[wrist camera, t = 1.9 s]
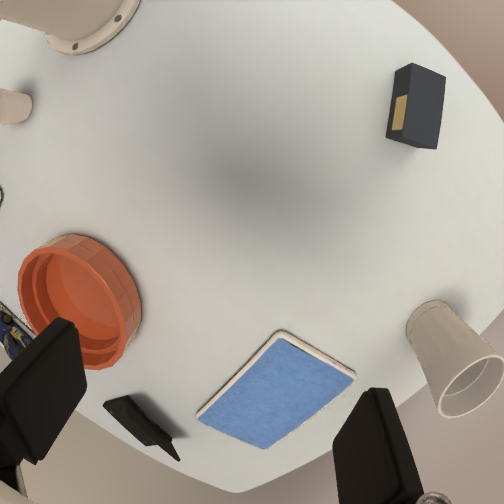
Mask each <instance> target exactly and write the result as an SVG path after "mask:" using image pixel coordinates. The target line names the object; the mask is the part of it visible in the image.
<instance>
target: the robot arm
mask: <svg viewBox="0 0 504 504" xmlns="http://www.w3.org/2000/svg"><path fill="white" fill-rule="evenodd" d="M139 2H140V0H0V19H3V20H7V21H11V22H14V23H17V24H21V25H24V26H27V27H30V28H33V29H36V30H39V31H42V32H45V34H46V38H47V41H48V43H49V44H50V46H51V47H52V48H53V49H55V50H56V51H58V52H60V53H63V54H68V55H79V54H83V53H87V52H90V51H92V50H94V49H96V48H99V47H100V46H102V45H103V44H105V43H106V42H108V41H109V40H110V39H112V38H113V37H114V36H115V35H116V34H117V33H118V32H119V31H120V30H121V29H122V28H123V27H124V26H125V25H126V24H127V22H128V21H129V20H130V19H131V17H132V16H133V14H134V12H135V11H136V9H137V7H138V4H139ZM86 389H87V381H86V376H85V371H84V365H83V359H82V353H81V346H80V339H79V331H78V329H77V328H76V327H75V324H74V323H73V322H72V321H69V320H66V319H64V318H61V317H57V318H55V319H54V320H53V321H52V322H51V323H50V324H49V325H48V326H47V327H46V328H45V329H44V330H43V331H42V332H41V333H40V334H38V335H37V336H36V337H35V338H34V339H33V340H32V341H31V342H30V343H29V344H28V345H27V346H26V347H25V348H24V349H23V350H22V351H21V352H20V353H19V354H18V355H17V356H16V357H15V358H14V359H13V361H12V362H11V363H10V364H9V365H8V366H7V367H6V368H5V369H4V370H3V371H2V372H1V373H0V504H37V503H35V502H34V501H32V500H30V499H28V496H27V492H26V489H25V485H24V481H23V476H22V472H21V468H20V463H21V461H22V460H23V458H24V459H26V460H27V461H29V462H31V463H32V464H34V465H36V463H37V461H38V460H43V459H44V458H45V456H46V454H47V453H48V451H49V449H50V448H51V446H52V444H53V443H54V441H55V440H56V438H57V436H58V435H59V433H60V431H61V430H62V428H63V427H64V425H65V424H66V422H67V420H68V419H69V417H70V416H71V414H72V412H73V411H74V409H75V408H76V406H77V405H78V403H79V402H80V400H81V399H82V397H83V396H84V394H85V392H86ZM332 448H333V456H334V463H335V471H336V480H337V488H338V497H339V504H452V503H451V501H450V500H449V499H448V498H447V497H446V496H445V495H443V494H441V493H438V492H429V493H425V494H424V491H423V487H422V484H421V481H420V478H419V475H418V471H417V468H416V465H415V462H414V459H413V456H412V452H411V449H410V446H409V444H408V441H407V438H406V435H405V432H404V430H403V427H402V425H401V422H400V419H399V416H398V413H397V410H396V408H395V405H394V402H393V400H392V397H391V394H390V392H389V390H388V389H387V388H373V387H372V388H370V389H369V390H368V391H365V392H363V394H362V395H361V397H360V399H359V400H358V402H357V404H356V405H355V407H354V409H353V410H352V412H351V414H350V415H349V417H348V418H347V420H346V422H345V423H344V425H343V426H342V428H341V429H340V431H339V432H338V434H337V436H336V437H335V439H334V441H333V446H332Z"/></svg>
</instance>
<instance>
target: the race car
mask: <svg viewBox="0 0 504 504" xmlns="http://www.w3.org/2000/svg"><path fill="white" fill-rule="evenodd" d="M35 337H36V334H35V333H34V332H32V331H31V330H30V329H29V328H28V327H27V326H26V325H25V324H23V323H22V322H21V321H20V320H19V319H18V318H17V317H16V316H15V315H14V314H13V313H12V312H11V311H9V310H8V309H7V308H6V307H5V306H4V305H3V304H2V303H1V302H0V341H1V343H2V344H3V345H4V347H5V350H6V352H7V354H8V356H9V358H10V359H11V360H12V361H13V359H14V358H15V357H16V356H17V355H18V354H19V353H20V352H21V351H22V350H23V349H24V348H25V347H26V346H27V345H28V344H29V343H30V342H31V341H32V340H33V339H34V338H35Z"/></svg>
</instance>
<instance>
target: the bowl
mask: <svg viewBox="0 0 504 504" xmlns="http://www.w3.org/2000/svg"><path fill="white" fill-rule="evenodd" d="M18 295H19V300H20V305H21V308H22V310H23V313H24V315H25V317H26V319H27V322H28V323H29V325H30V327H31V328H32V330H33V331H34V333H35V334H36V336H37V335H38V334H40V333H41V332H42V331H43V330H44V329H45V328H46V327H47V326H48V325H49V324H50V323H51V322H52V321H53V320H54V319H55V318H57V317H61V318H64V319H66V320H69V321H72V322H73V323H74V324H75V327H76V328H77V329H78V331H79V339H80V346H81V353H82V359H83V365H84V369H91V370H101V369H104V368H108V367H111V366H113V365H114V364H115V363H116V362H117V361H118V360H119V359H120V358H121V357H122V355H123V354H124V352H125V351H126V349H127V348H128V346H129V345H130V343H131V342H132V340H133V338H134V337H135V335H136V333H137V330H138V328H139V325H140V322H141V301H140V298H139V295H138V292H137V289H136V286H135V283H134V281H133V279H132V278H131V276H130V274H129V273H128V271H127V270H126V268H125V266H124V265H123V264H122V262H121V261H120V260H119V259H118V258H117V257H116V256H115V255H114V254H113V253H112V252H111V251H110V250H109V249H108V248H107V247H105V246H103V245H102V244H100V243H98V242H96V241H95V240H93V239H91V238H89V237H85V236H80V235H75V234H69V235H65V236H60V237H57V238H55V239H53V240H51V241H49V242H48V243H46V244H44V245H42V246H40V247H39V248H37V249H35V250H34V251H33V252H31V253H30V254H29V255H28V256H27V257H26V258H25V259H24V261H23V263H22V265H21V268H20V270H19V273H18Z"/></svg>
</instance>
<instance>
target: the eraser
mask: <svg viewBox="0 0 504 504" xmlns="http://www.w3.org/2000/svg"><path fill="white" fill-rule="evenodd" d="M445 83H446V77H445V76H443V75H440V74H438V73H436V72H434V71H431V70H429V69H427V68H424V67H422V66H419V65H417V64H414V63H410V64H408V65H406V66H404V67H402V68H401V69H399V70H397V71H395V80H394V87H393V95H392V102H391V109H390V115H389V121H388V127H387V133H386V138H389V139H392V140H395V141H398V142H402V143H405V144H408V145H411V146H414V147H417V148H427V149H437V144H438V138H439V132H440V125H441V118H442V111H443V102H444V93H445Z"/></svg>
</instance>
